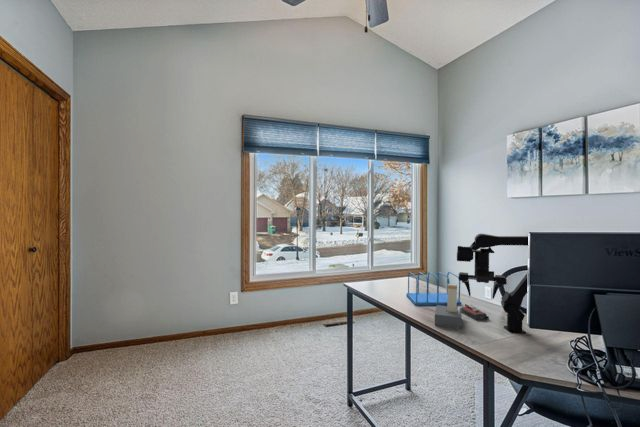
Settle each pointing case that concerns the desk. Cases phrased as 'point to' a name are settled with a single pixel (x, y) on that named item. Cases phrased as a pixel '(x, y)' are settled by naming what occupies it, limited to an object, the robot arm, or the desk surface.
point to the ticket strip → (451, 298)
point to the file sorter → (430, 297)
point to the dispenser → (447, 317)
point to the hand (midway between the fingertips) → (481, 297)
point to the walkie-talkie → (473, 312)
